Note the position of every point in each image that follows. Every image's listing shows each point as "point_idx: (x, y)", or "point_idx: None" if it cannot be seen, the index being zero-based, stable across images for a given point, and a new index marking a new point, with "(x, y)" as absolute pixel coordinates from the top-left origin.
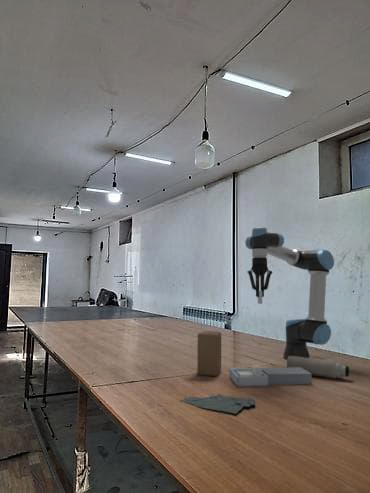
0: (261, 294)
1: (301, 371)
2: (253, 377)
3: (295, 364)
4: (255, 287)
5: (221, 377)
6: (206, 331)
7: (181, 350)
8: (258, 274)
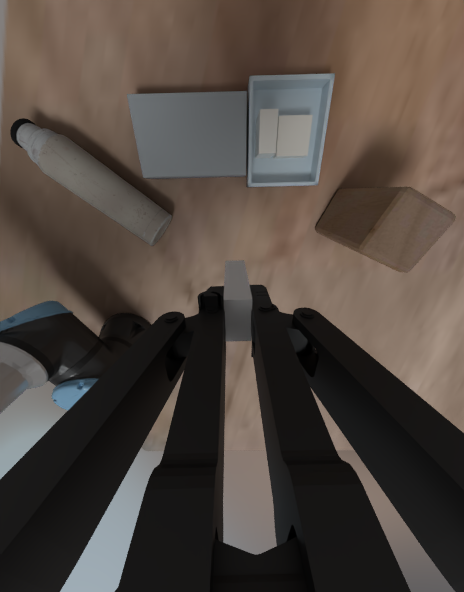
0: (230, 284)
1: (149, 124)
2: (291, 75)
3: (150, 202)
4: (299, 319)
5: (329, 182)
6: (407, 258)
7: None
8: (350, 566)
